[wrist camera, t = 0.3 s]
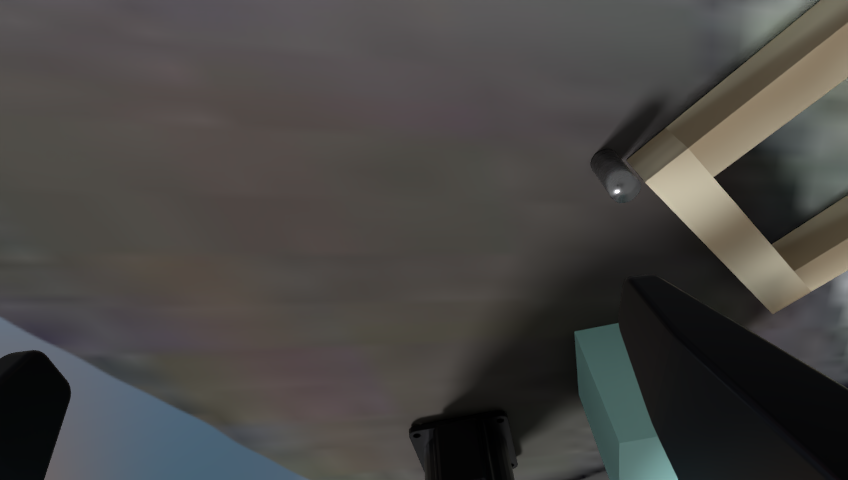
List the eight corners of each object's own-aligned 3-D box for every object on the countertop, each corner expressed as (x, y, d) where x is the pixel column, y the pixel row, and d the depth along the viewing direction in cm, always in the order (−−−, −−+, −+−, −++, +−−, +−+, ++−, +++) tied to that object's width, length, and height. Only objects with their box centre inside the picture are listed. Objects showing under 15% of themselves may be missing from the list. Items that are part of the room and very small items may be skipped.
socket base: (996, 134, 22) (1057, 159, 20) (727, 301, 27) (754, 335, 25) (897, -105, 17) (968, -104, 15) (585, 163, 22) (604, 191, 20)
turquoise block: (673, 376, 31) (735, 486, 26) (578, 394, 32) (618, 505, 26) (681, 310, 28) (755, 419, 22) (574, 330, 28) (619, 443, 23)
